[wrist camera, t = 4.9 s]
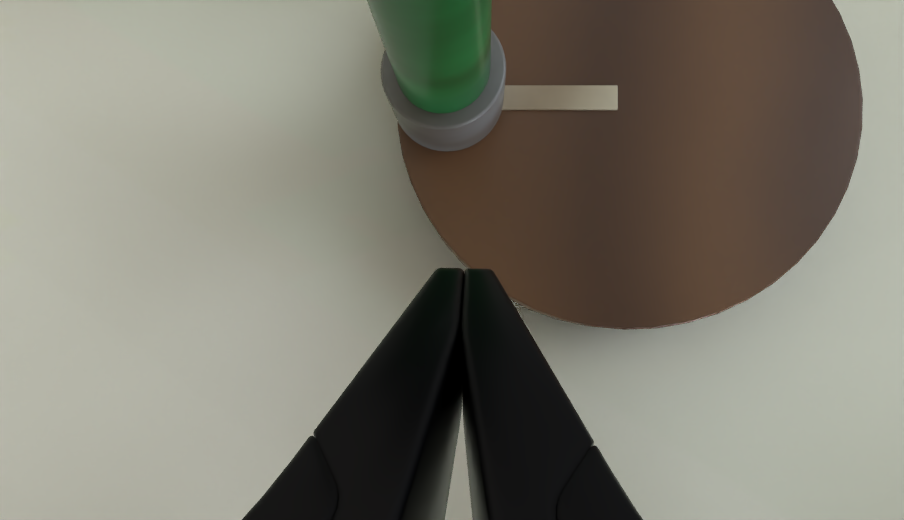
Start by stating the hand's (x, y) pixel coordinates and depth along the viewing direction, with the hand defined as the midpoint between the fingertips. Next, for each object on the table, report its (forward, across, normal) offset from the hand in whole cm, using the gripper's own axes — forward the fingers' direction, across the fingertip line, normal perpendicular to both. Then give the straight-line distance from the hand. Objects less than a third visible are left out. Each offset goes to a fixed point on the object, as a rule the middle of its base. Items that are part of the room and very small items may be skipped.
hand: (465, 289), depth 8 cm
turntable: (+10, -4, +2) cm, 11 cm away
